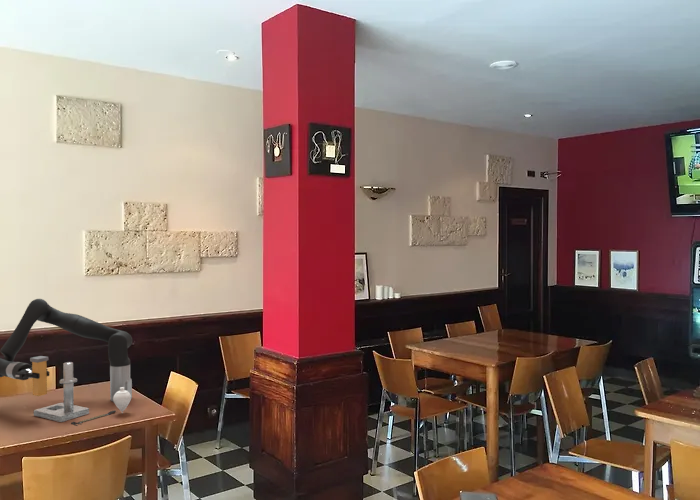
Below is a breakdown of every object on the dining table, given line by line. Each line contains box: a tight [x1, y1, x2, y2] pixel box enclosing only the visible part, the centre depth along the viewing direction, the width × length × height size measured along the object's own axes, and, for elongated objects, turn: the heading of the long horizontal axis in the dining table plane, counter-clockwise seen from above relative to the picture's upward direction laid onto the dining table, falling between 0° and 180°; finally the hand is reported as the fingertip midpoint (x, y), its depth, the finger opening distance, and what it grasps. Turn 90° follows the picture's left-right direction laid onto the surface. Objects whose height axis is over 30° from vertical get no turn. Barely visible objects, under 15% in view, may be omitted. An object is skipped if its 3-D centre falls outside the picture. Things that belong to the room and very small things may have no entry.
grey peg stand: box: [33, 361, 90, 423], centre depth 266 cm, size 19×14×24 cm
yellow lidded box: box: [29, 355, 50, 397], centre depth 260 cm, size 5×5×16 cm
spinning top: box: [112, 387, 132, 415], centre depth 268 cm, size 8×8×12 cm
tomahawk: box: [70, 409, 117, 427], centre depth 260 cm, size 21×7×1 cm, turn 146°
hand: (43, 375), depth 259 cm, fingers closed on yellow lidded box, 4 cm apart
